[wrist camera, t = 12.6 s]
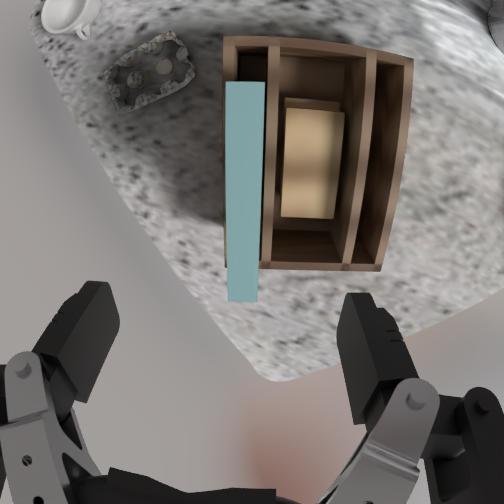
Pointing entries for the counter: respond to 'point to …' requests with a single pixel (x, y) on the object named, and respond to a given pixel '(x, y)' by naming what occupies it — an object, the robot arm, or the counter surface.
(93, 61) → the counter surface
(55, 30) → the teacup
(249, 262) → the teal board
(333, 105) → the oak offcut lower
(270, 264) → the rack
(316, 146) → the oak offcut upper
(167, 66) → the egg carton
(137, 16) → the counter surface
